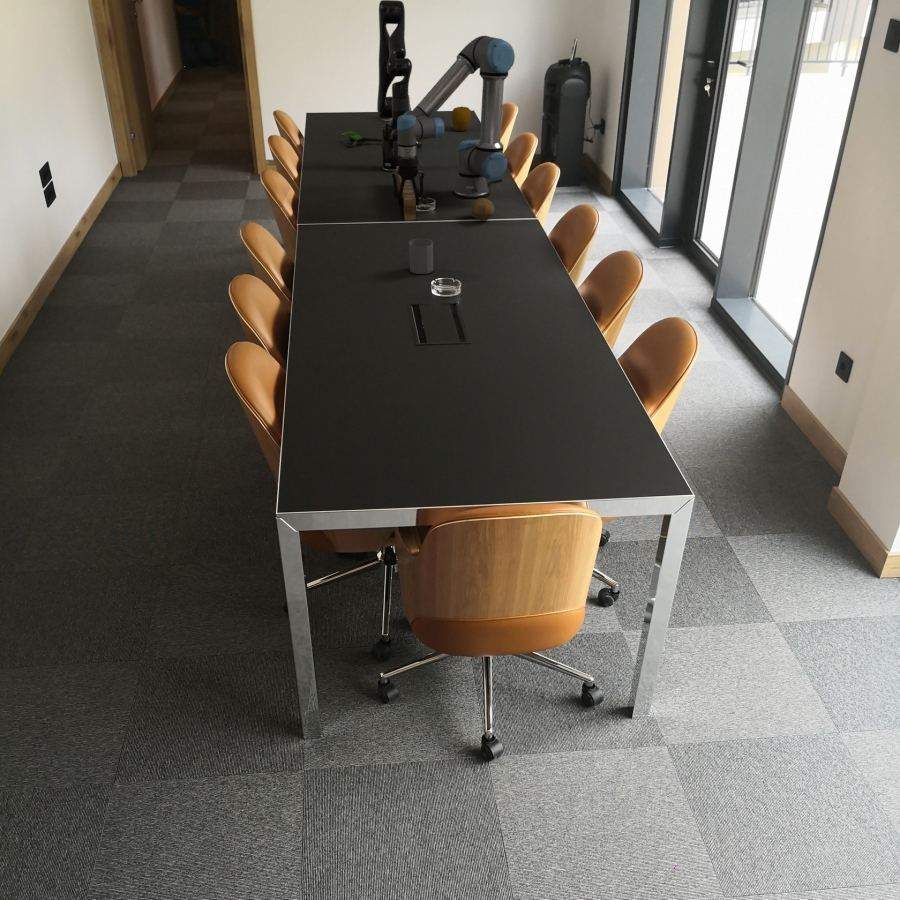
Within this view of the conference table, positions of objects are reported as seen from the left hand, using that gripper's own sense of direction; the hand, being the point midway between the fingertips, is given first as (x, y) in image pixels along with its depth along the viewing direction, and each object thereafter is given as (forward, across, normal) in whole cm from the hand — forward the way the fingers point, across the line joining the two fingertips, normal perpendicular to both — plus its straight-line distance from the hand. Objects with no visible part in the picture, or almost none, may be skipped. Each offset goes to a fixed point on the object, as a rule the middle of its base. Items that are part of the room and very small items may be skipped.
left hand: (401, 147), depth 382 cm
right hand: (+18, 0, -37) cm, 41 cm away
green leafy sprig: (+19, -13, +86) cm, 89 cm away
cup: (+19, 0, -100) cm, 102 cm away
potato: (+19, +30, -46) cm, 58 cm away
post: (+19, 0, -18) cm, 26 cm away
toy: (+19, +6, +137) cm, 138 cm away
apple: (+19, +41, +113) cm, 122 cm away
